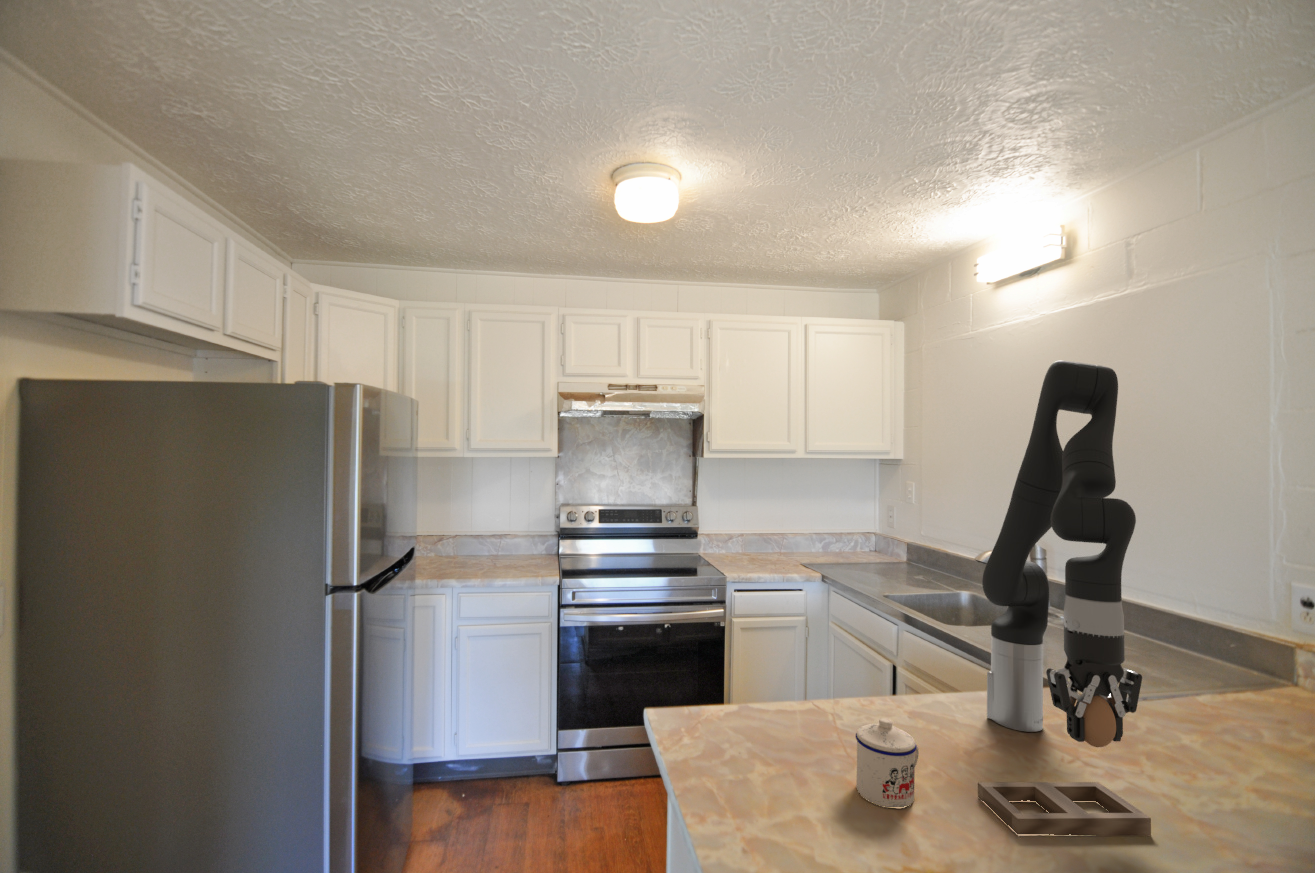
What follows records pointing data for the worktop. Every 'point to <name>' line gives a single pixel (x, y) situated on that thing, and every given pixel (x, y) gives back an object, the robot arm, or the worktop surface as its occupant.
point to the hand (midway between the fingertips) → (1094, 738)
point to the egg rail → (1064, 809)
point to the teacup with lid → (886, 764)
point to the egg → (1099, 722)
